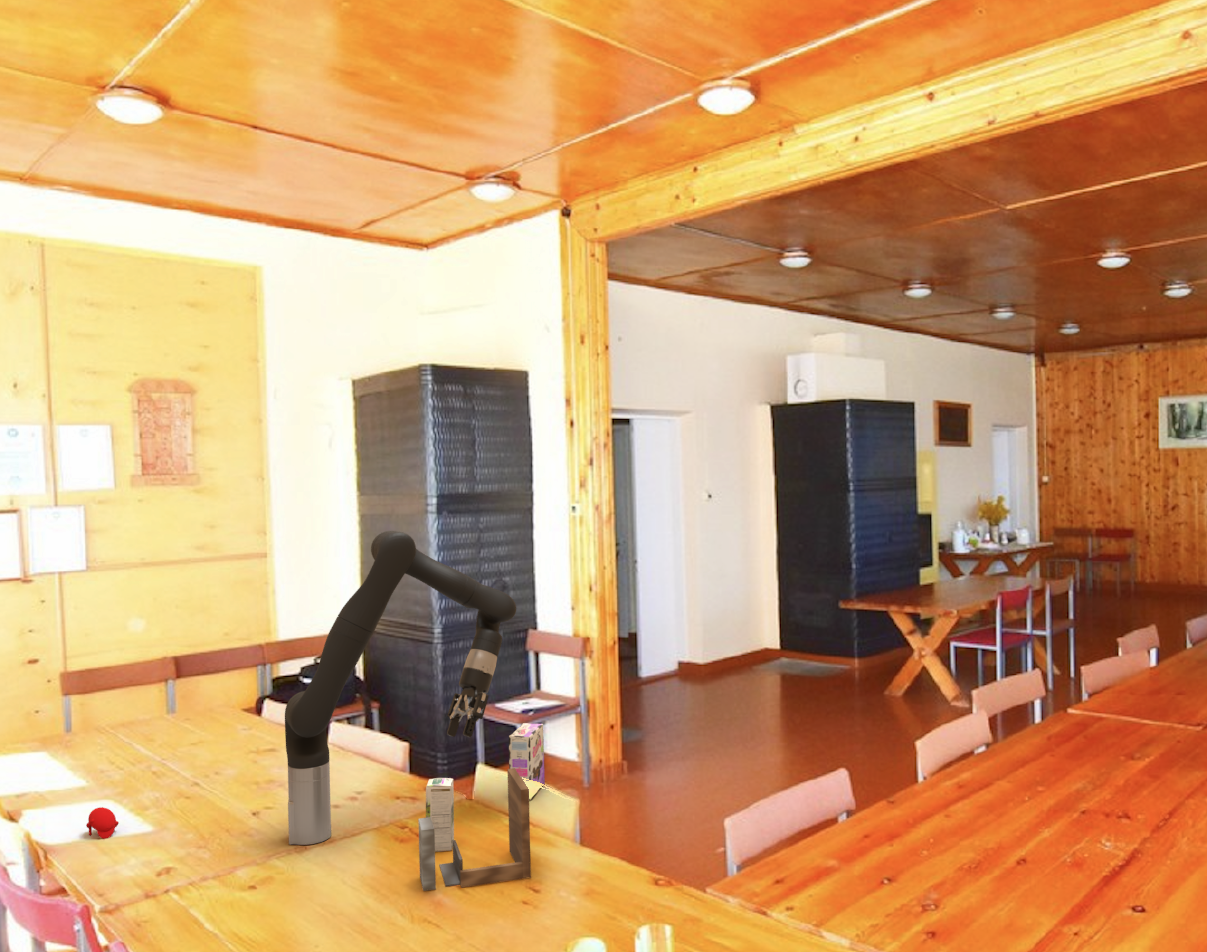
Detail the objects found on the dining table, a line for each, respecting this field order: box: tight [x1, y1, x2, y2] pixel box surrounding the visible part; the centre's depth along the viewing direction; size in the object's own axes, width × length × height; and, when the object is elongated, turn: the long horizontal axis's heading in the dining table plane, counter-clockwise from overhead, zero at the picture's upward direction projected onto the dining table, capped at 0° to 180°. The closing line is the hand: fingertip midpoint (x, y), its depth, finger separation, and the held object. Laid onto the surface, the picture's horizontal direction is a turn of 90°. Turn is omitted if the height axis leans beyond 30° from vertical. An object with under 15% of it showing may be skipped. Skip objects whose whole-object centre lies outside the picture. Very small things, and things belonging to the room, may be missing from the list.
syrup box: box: [425, 777, 455, 853], centre depth 209 cm, size 6×6×14 cm
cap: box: [86, 806, 120, 840], centre depth 222 cm, size 8×6×6 cm
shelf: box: [418, 768, 532, 892], centre depth 195 cm, size 22×15×18 cm
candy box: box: [508, 722, 546, 785], centre depth 245 cm, size 14×6×16 cm, turn 168°
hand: (458, 736), depth 226 cm, fingers open, 8 cm apart
